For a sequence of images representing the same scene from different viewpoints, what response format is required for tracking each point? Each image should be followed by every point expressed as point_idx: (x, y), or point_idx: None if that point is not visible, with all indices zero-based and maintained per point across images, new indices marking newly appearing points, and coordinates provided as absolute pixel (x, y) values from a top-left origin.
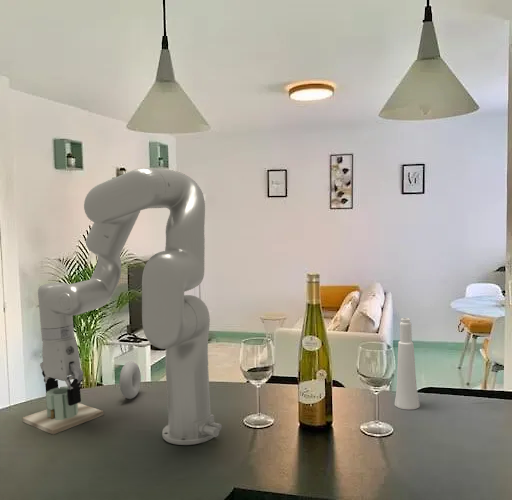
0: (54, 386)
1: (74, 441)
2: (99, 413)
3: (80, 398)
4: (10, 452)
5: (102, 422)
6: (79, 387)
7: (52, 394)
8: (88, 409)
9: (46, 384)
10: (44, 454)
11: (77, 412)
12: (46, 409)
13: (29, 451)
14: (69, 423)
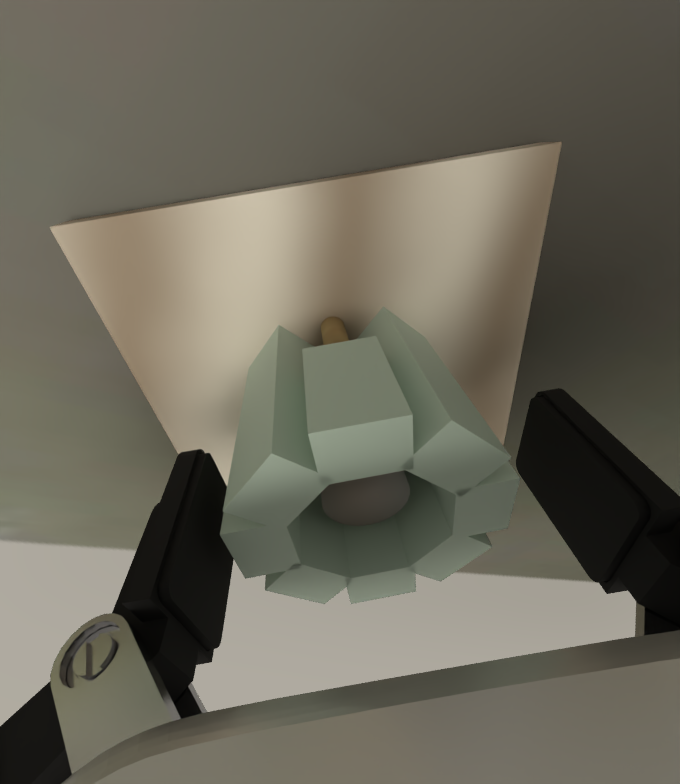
0: (198, 559)
1: (630, 428)
2: (546, 188)
3: (575, 404)
4: (478, 564)
5: (627, 231)
6: (670, 494)
7: (395, 581)
8: (409, 223)
9: (210, 649)
10: None
11: (401, 320)
12: (170, 432)
13: (528, 534)
14: (502, 410)
